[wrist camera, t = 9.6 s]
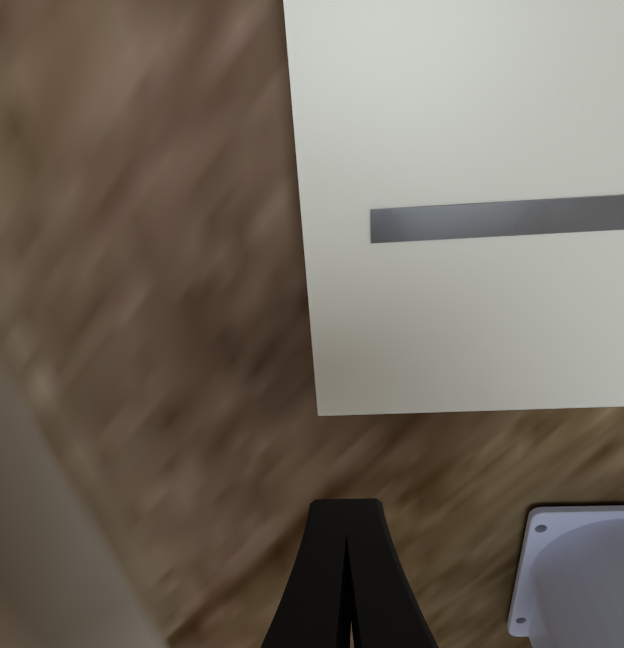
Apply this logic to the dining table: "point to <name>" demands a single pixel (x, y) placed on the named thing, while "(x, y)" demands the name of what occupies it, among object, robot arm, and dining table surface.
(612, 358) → the dimmer panel
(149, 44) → the dining table surface
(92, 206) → the dining table surface
